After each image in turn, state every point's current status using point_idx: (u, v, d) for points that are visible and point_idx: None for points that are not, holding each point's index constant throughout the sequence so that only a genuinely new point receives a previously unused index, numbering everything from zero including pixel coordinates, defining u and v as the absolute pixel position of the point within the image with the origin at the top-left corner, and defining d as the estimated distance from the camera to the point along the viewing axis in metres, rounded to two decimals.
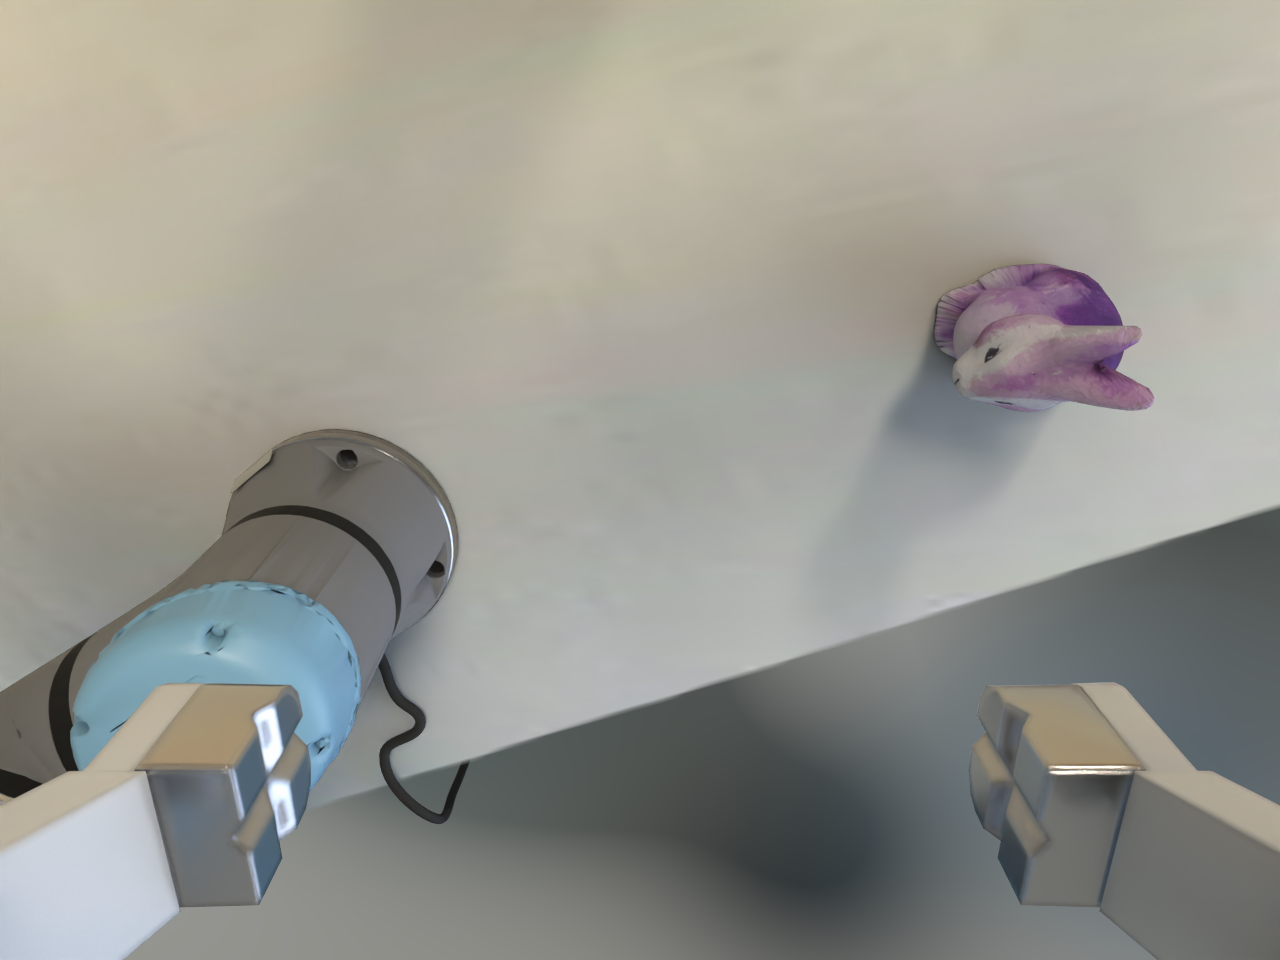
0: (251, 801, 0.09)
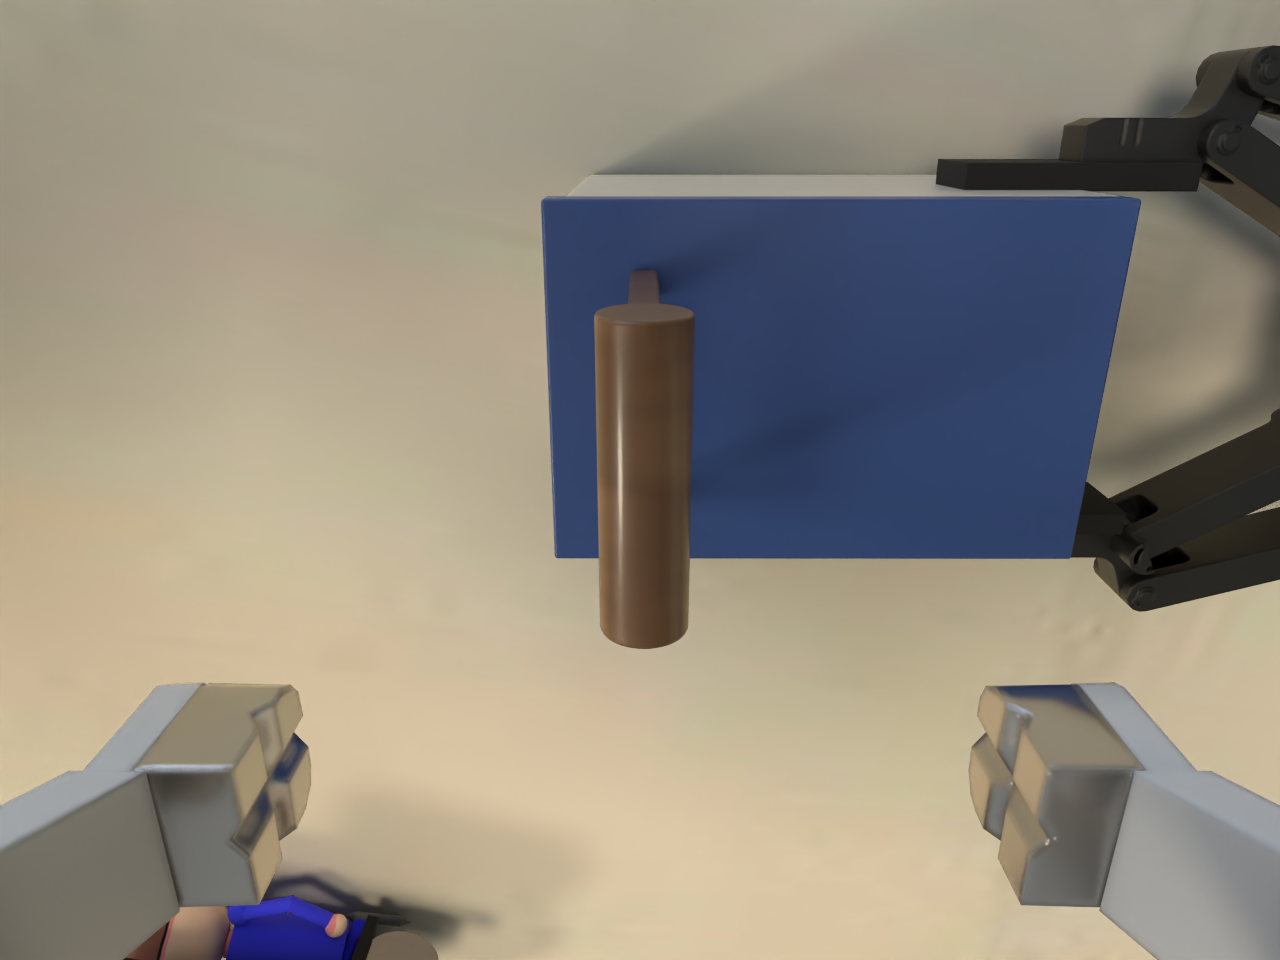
0: (251, 801, 0.09)
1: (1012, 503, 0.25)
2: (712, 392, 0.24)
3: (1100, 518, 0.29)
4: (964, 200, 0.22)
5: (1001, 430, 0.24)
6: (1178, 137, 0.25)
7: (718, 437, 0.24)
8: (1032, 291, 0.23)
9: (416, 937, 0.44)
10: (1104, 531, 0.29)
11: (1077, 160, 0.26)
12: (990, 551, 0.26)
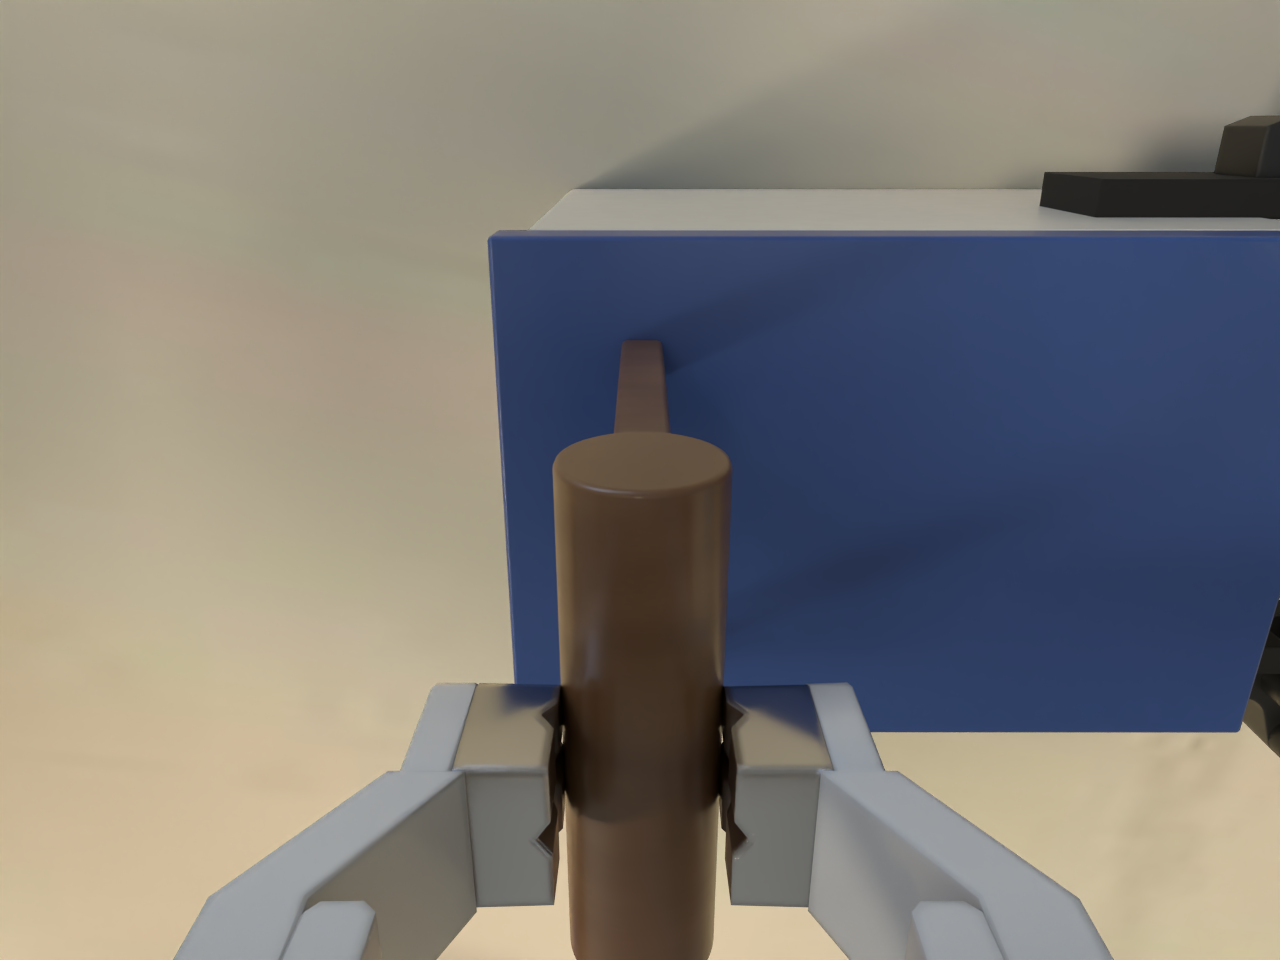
0: (552, 801, 0.09)
1: (1163, 660, 0.18)
2: (740, 512, 0.17)
3: None
4: (1122, 238, 0.15)
5: (1154, 564, 0.17)
6: None
7: (748, 573, 0.17)
8: (1214, 370, 0.16)
9: None
10: (1259, 669, 0.22)
11: (1250, 175, 0.18)
12: (1127, 723, 0.18)
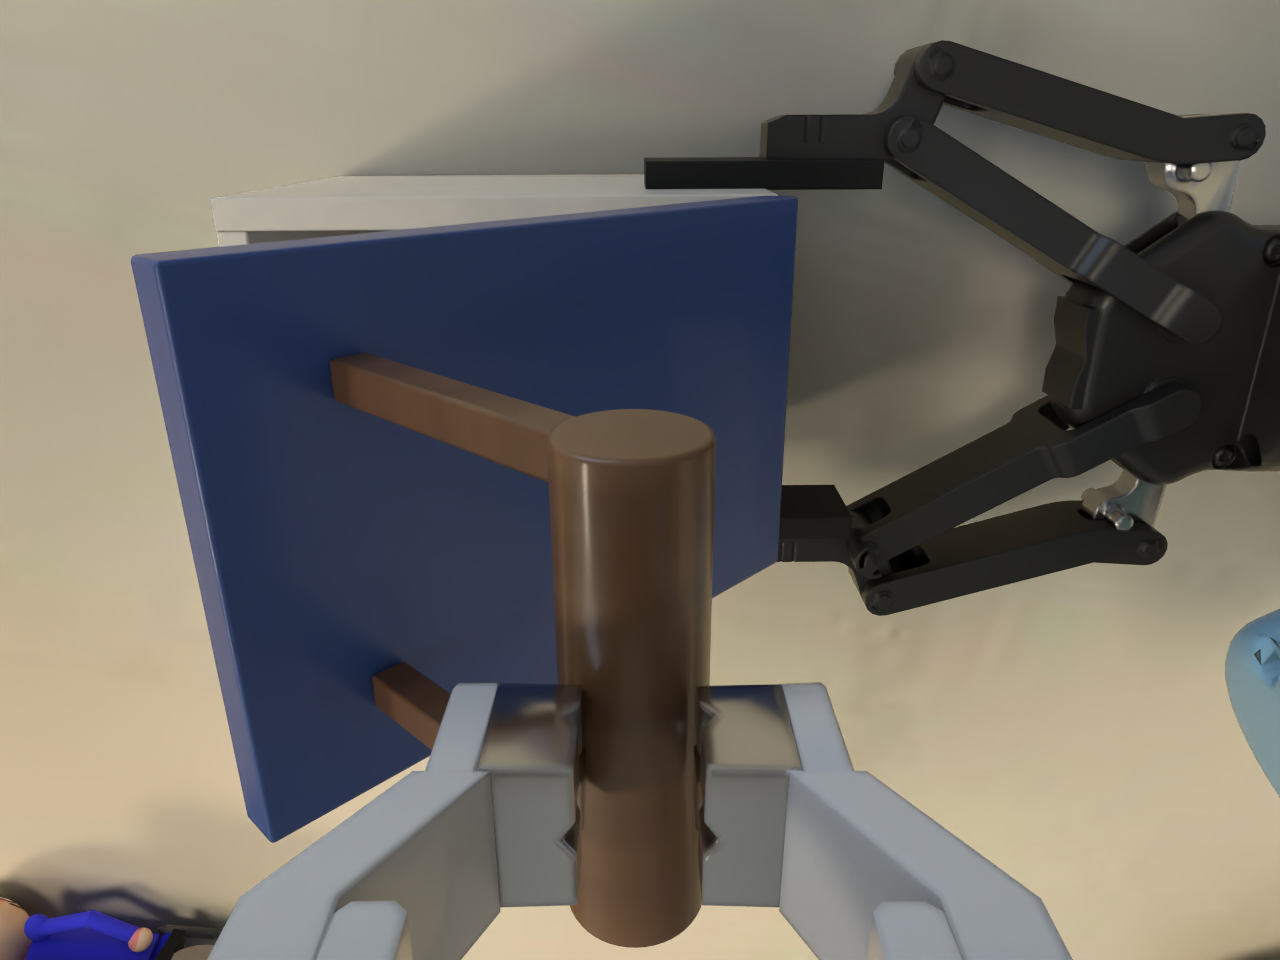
0: (576, 801, 0.09)
1: (737, 527, 0.23)
2: (458, 509, 0.17)
3: (826, 522, 0.28)
4: (679, 210, 0.19)
5: (725, 456, 0.22)
6: (863, 134, 0.25)
7: (472, 566, 0.17)
8: (736, 303, 0.21)
9: None
10: (832, 534, 0.29)
11: (765, 158, 0.25)
12: (726, 583, 0.24)
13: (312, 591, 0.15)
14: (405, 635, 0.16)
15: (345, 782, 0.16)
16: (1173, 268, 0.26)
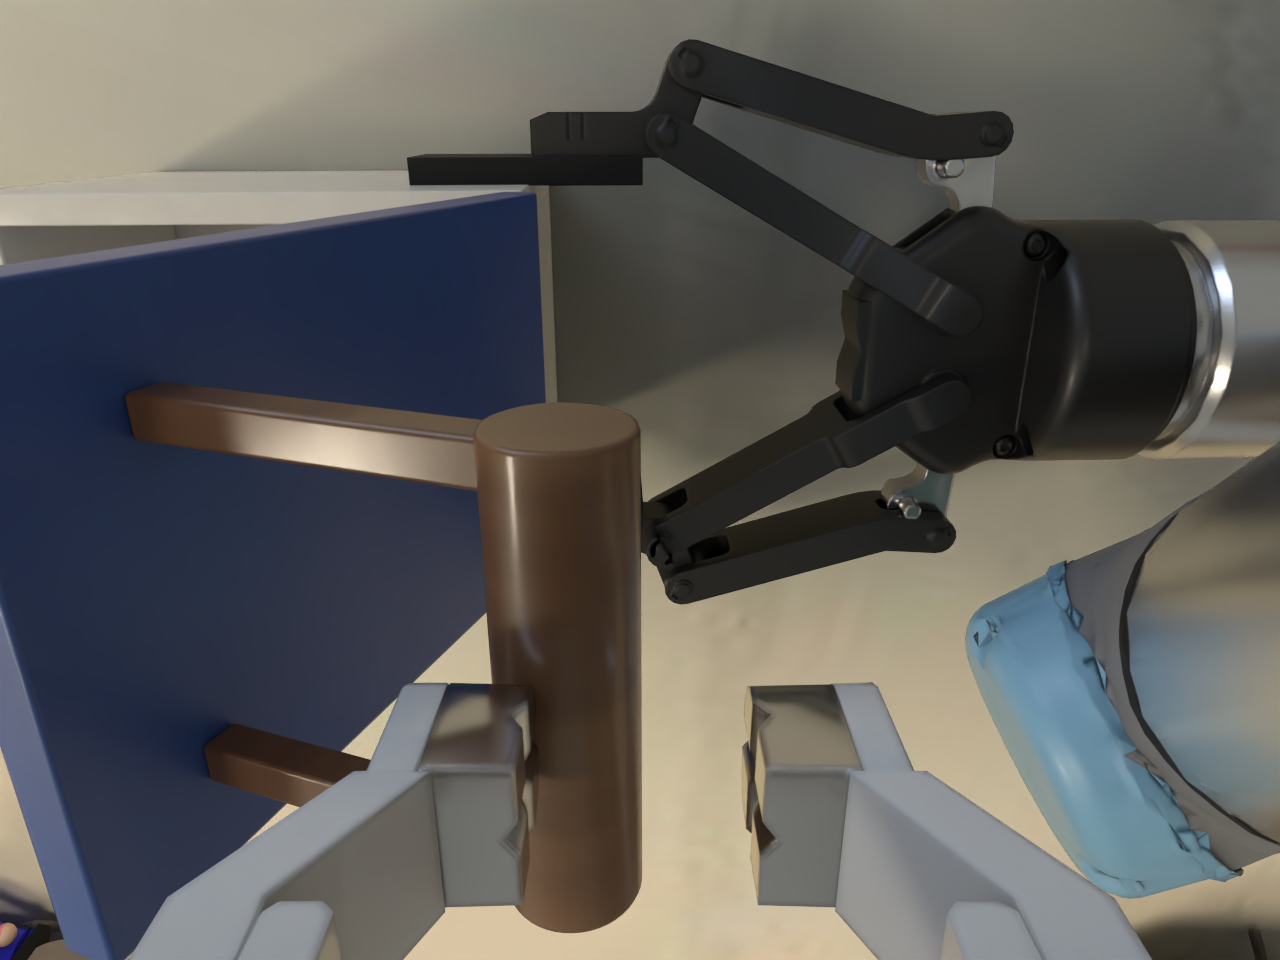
0: (520, 801, 0.09)
1: None
2: (272, 544, 0.15)
3: None
4: (442, 209, 0.19)
5: None
6: (625, 131, 0.25)
7: (291, 603, 0.16)
8: (497, 300, 0.21)
9: None
10: None
11: (531, 155, 0.26)
12: None
13: (130, 664, 0.13)
14: (232, 694, 0.15)
15: (186, 875, 0.14)
16: (937, 262, 0.26)
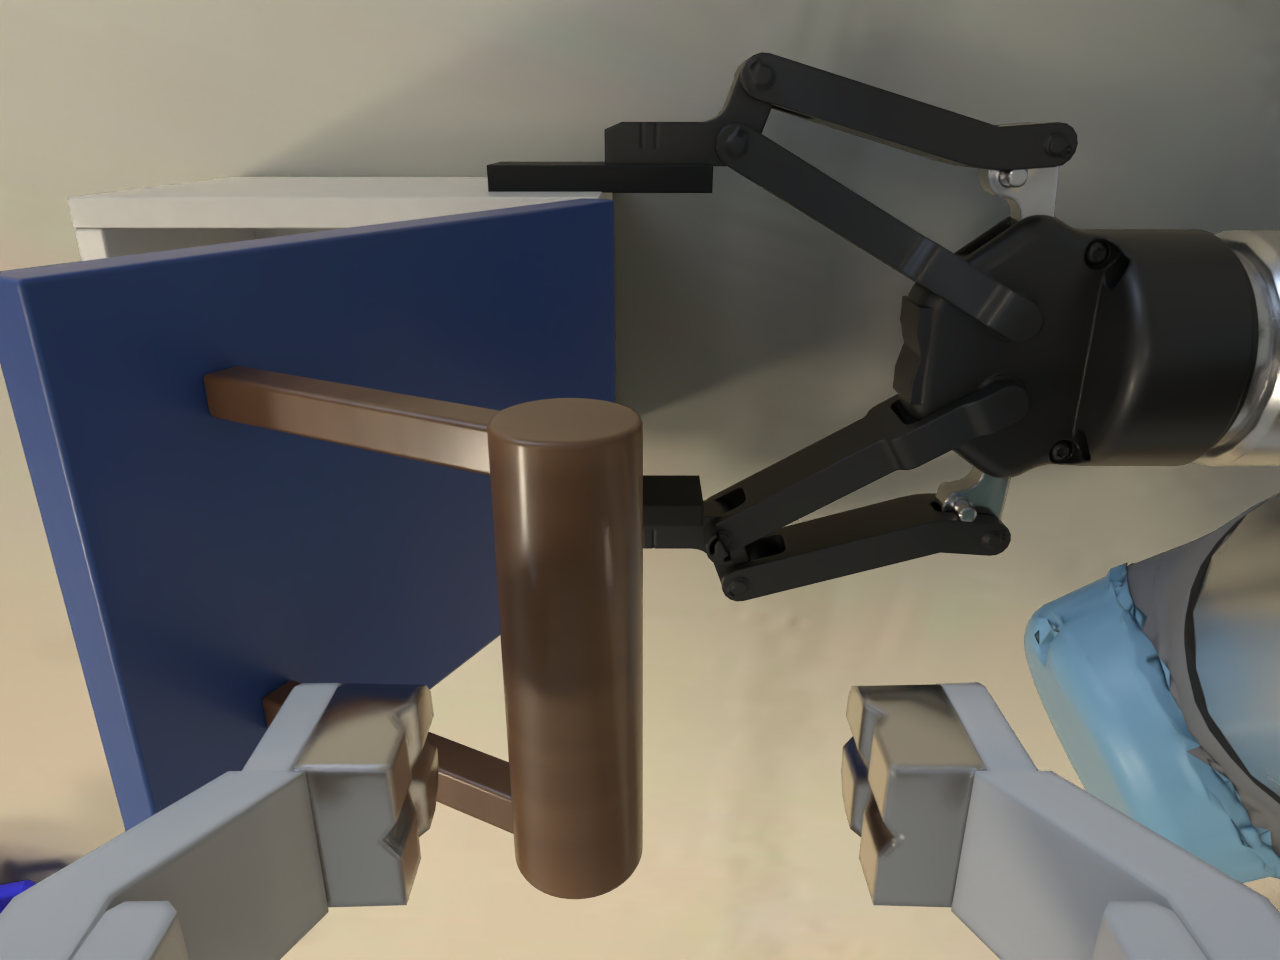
0: (402, 801, 0.09)
1: None
2: (334, 519, 0.16)
3: (679, 510, 0.30)
4: (515, 214, 0.20)
5: None
6: (695, 141, 0.26)
7: (351, 575, 0.17)
8: (568, 301, 0.22)
9: None
10: (685, 522, 0.30)
11: (605, 163, 0.26)
12: None
13: (198, 617, 0.14)
14: (291, 653, 0.16)
15: None
16: (999, 270, 0.27)
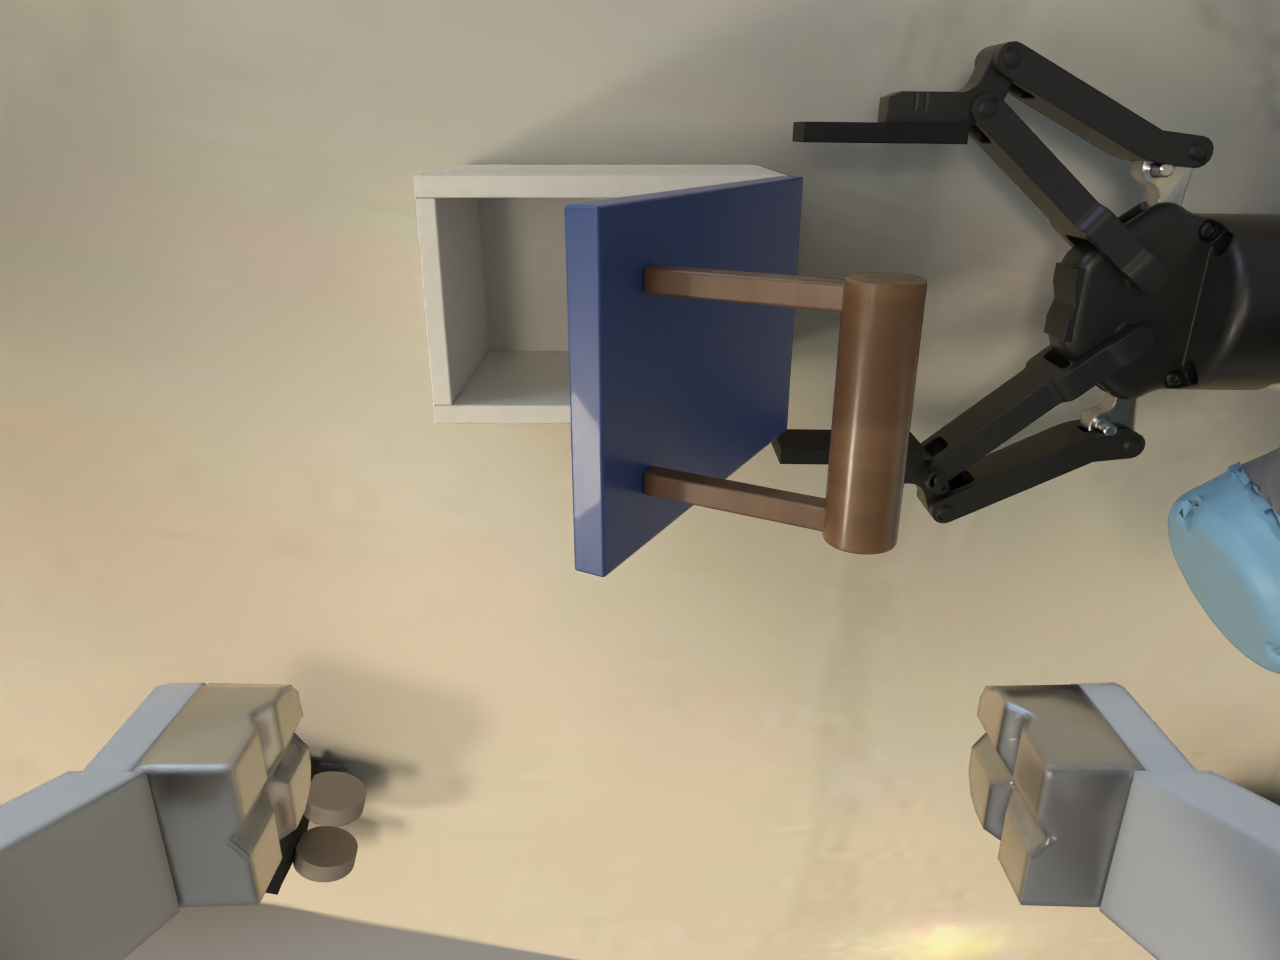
0: (251, 801, 0.09)
1: (773, 401, 0.35)
2: (677, 369, 0.27)
3: (907, 453, 0.40)
4: (760, 184, 0.30)
5: (770, 349, 0.33)
6: (954, 106, 0.36)
7: (679, 408, 0.27)
8: (778, 246, 0.32)
9: (349, 776, 0.55)
10: (911, 462, 0.40)
11: (885, 121, 0.36)
12: (767, 440, 0.35)
13: (628, 412, 0.24)
14: (655, 449, 0.26)
15: (629, 543, 0.26)
16: (1136, 235, 0.37)
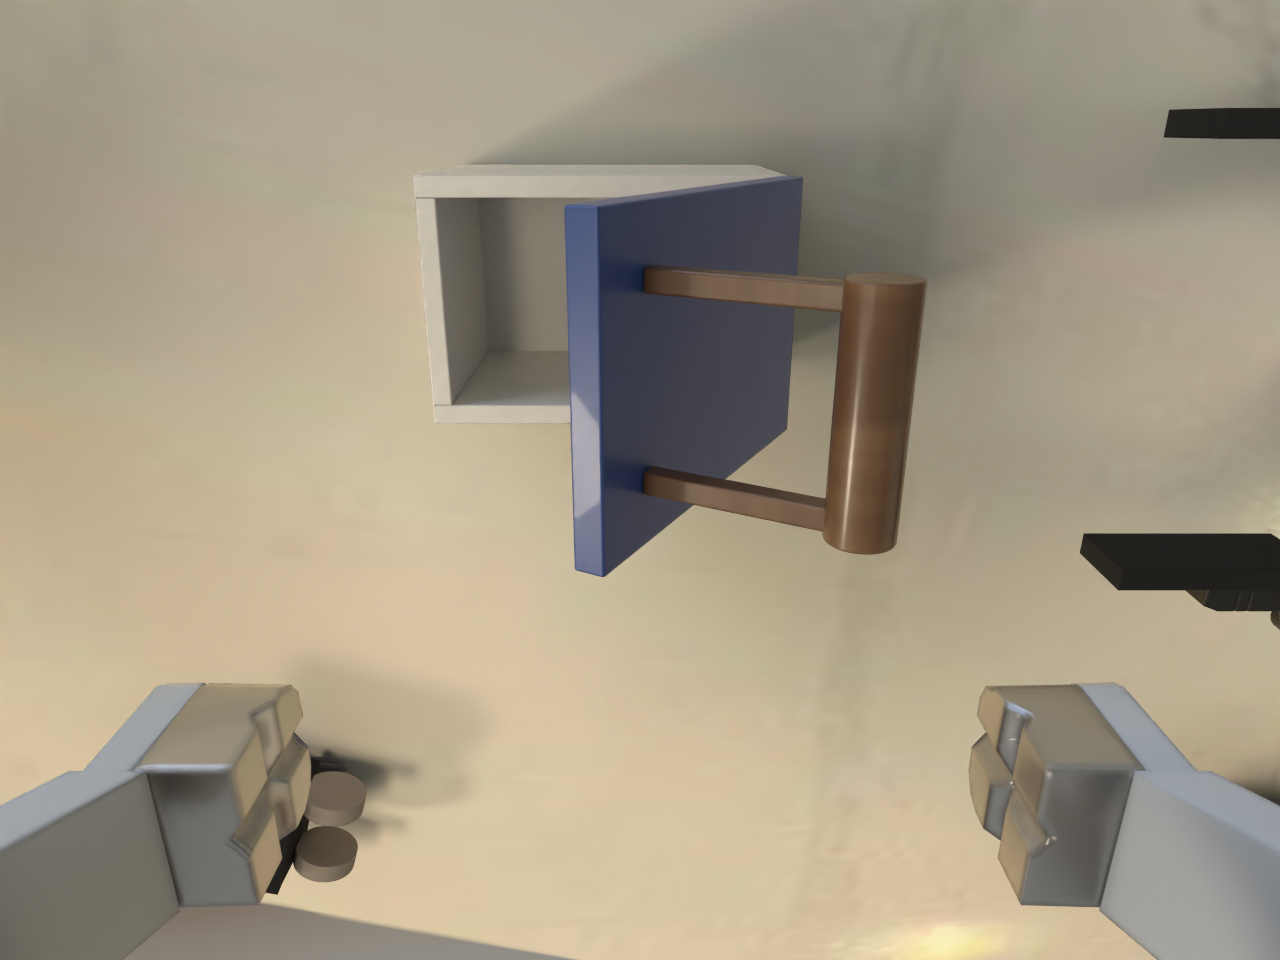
0: (251, 801, 0.09)
1: (772, 401, 0.35)
2: (677, 369, 0.27)
3: None
4: (760, 184, 0.30)
5: (770, 350, 0.33)
6: None
7: (679, 408, 0.27)
8: (778, 246, 0.32)
9: (349, 776, 0.55)
10: None
11: None
12: (767, 440, 0.35)
13: (628, 412, 0.24)
14: (654, 449, 0.26)
15: (629, 543, 0.26)
16: None
